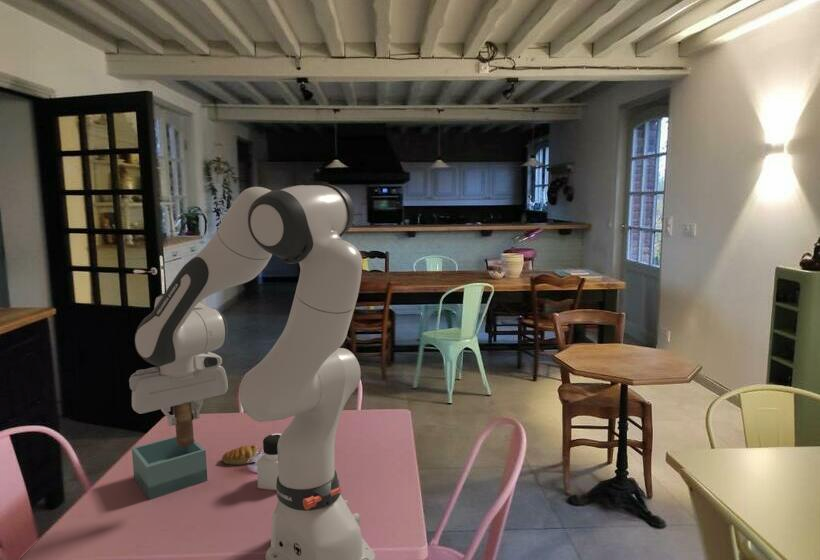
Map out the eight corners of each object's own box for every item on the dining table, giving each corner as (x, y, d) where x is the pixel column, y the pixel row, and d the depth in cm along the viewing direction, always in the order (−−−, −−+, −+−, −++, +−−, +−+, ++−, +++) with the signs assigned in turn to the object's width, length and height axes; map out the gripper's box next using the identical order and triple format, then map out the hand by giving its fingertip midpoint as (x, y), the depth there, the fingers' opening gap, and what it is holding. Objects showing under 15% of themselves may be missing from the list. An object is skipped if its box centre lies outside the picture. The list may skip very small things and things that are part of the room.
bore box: (207, 480, 135) (205, 450, 134) (149, 499, 126) (146, 467, 125) (189, 461, 145) (187, 433, 144) (134, 478, 136) (131, 447, 135)
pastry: (221, 468, 141) (221, 454, 141) (222, 457, 148) (222, 444, 147) (258, 463, 144) (258, 449, 143) (258, 452, 150) (257, 439, 150)
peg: (196, 443, 123) (192, 392, 121) (180, 448, 121) (175, 396, 119) (191, 438, 126) (187, 388, 124) (174, 443, 123) (170, 392, 122)
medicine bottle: (284, 491, 129) (282, 444, 127) (257, 488, 130) (255, 441, 129) (297, 477, 136) (295, 431, 134) (270, 474, 137) (268, 429, 136)
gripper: (132, 375, 112) (138, 438, 113) (228, 356, 125) (232, 413, 126) (124, 369, 117) (130, 430, 118) (218, 351, 130) (222, 407, 131)
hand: (183, 421), depth 122 cm, fingers closed on peg, 4 cm apart
